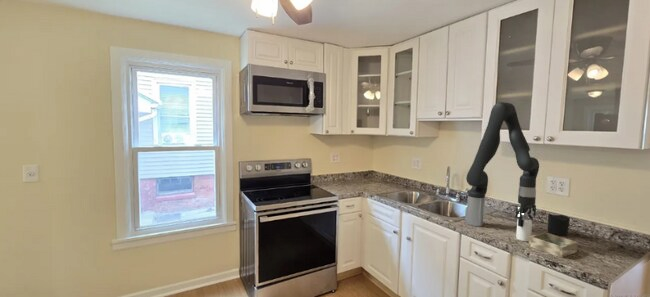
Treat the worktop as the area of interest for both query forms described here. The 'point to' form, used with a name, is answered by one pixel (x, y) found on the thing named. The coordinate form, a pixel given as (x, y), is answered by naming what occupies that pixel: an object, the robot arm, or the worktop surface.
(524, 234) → the can
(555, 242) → the bore box
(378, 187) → the worktop surface
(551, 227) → the pen holder
